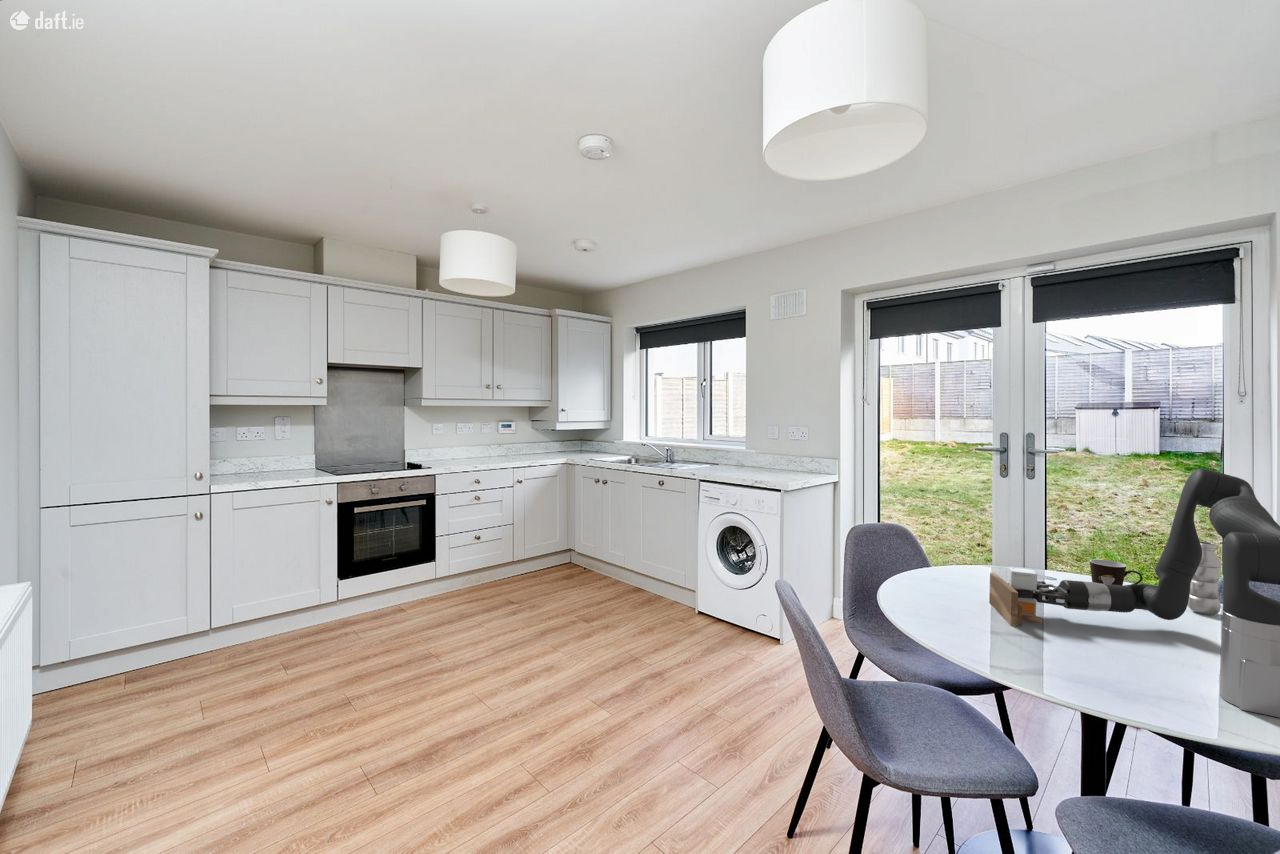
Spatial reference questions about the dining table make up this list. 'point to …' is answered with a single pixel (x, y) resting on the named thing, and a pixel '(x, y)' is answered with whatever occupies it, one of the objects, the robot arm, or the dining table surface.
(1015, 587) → the skincare box
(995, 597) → the wooden stand
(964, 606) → the dining table surface
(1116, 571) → the coffee mug
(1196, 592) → the plastic bottle
